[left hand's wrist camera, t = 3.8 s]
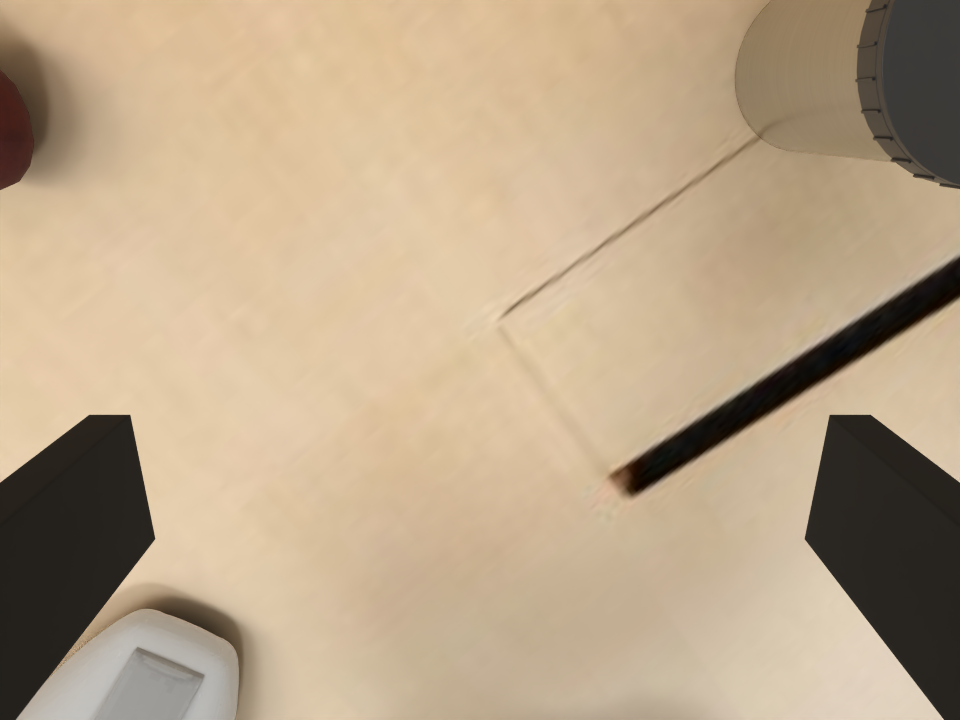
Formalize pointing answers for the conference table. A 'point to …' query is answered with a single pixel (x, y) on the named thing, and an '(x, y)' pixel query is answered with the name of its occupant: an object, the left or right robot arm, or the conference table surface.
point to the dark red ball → (13, 134)
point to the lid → (913, 84)
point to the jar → (806, 78)
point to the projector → (143, 675)
